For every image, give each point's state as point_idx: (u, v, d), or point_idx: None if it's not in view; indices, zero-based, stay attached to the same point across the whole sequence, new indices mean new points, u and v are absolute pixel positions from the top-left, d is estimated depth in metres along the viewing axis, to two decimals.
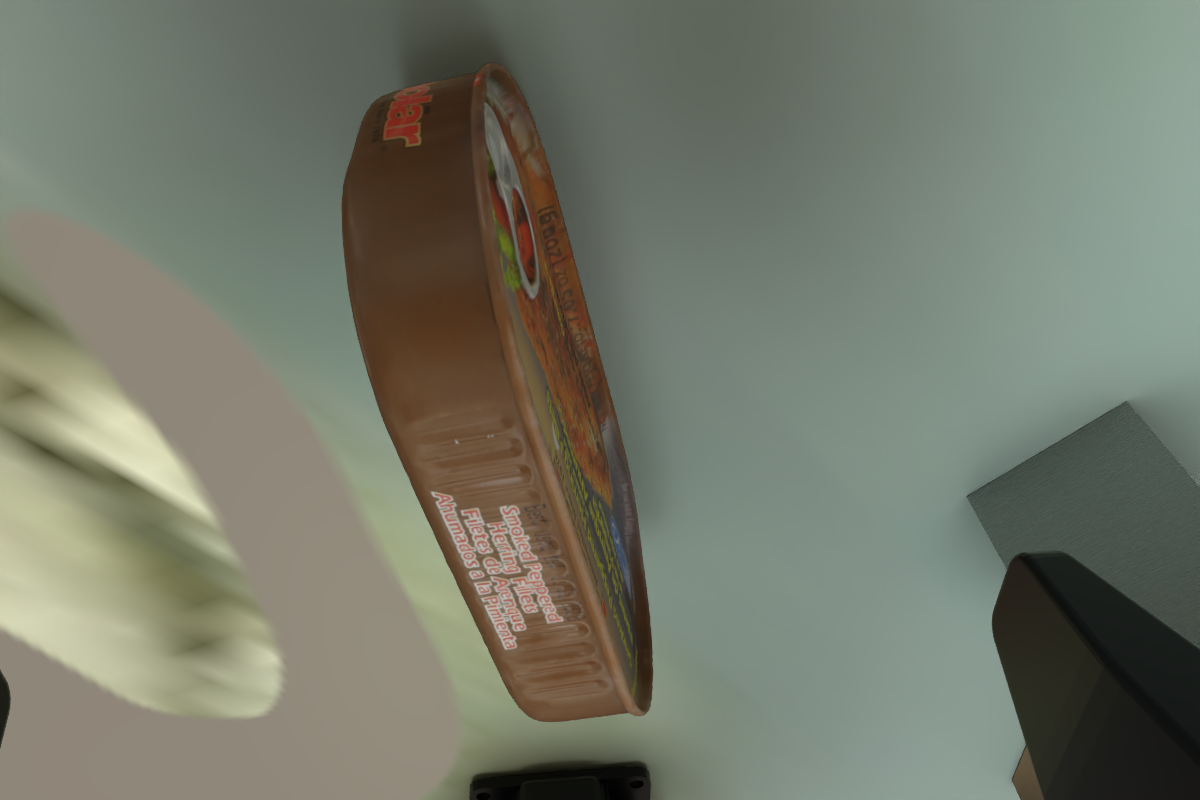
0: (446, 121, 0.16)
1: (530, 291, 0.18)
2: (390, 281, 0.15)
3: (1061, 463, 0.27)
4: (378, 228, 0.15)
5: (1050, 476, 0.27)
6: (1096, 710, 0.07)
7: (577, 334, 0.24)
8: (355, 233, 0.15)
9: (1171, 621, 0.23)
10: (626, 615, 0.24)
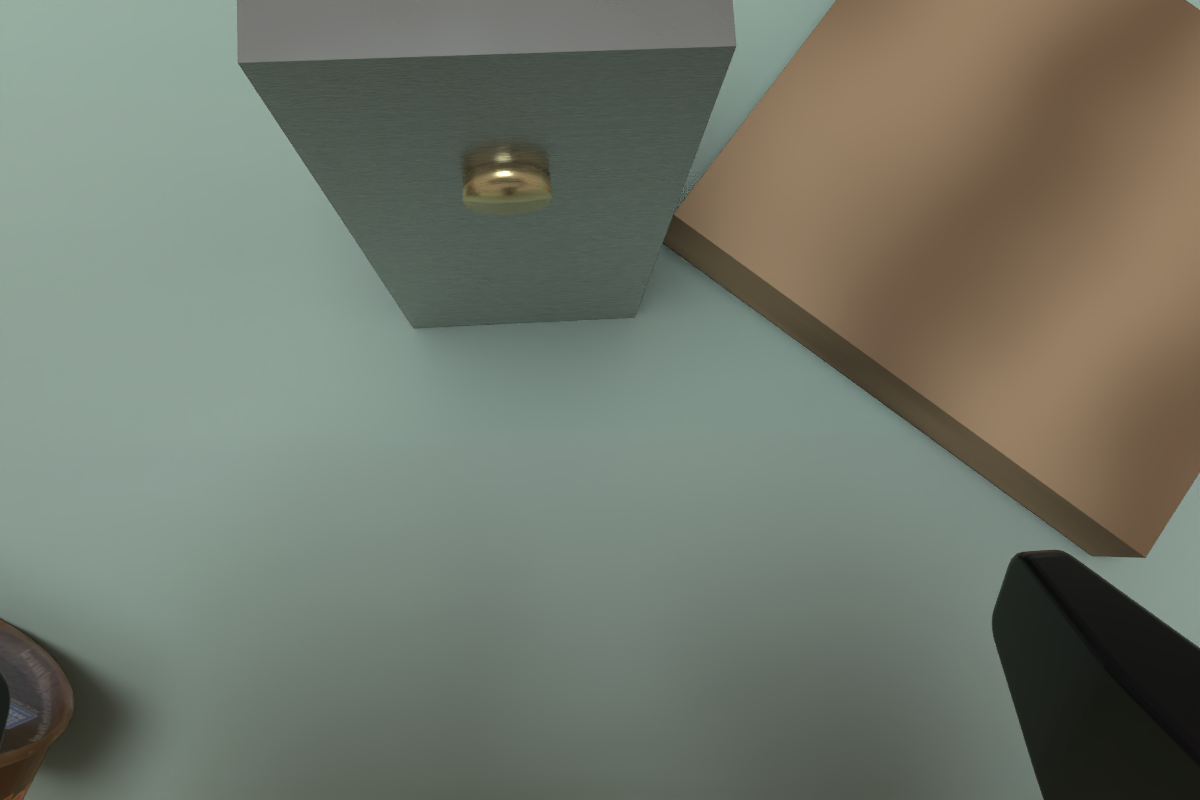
0: None
1: None
2: None
3: None
4: None
5: None
6: (1096, 710, 0.07)
7: None
8: None
9: None
10: None
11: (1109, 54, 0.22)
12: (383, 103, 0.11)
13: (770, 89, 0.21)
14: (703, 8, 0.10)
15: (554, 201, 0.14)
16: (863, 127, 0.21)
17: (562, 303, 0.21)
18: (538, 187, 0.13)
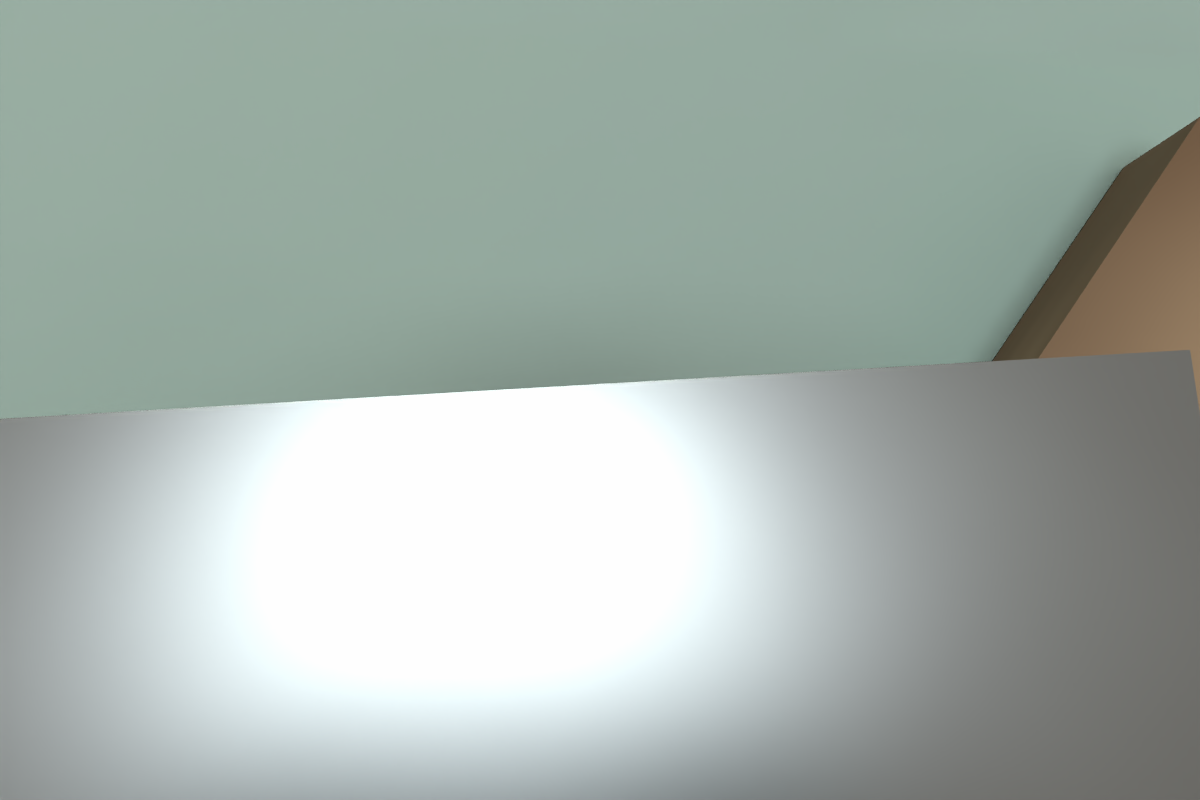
0: None
1: None
2: None
3: None
4: None
5: None
6: None
7: None
8: None
9: None
10: None
11: None
12: None
13: None
14: None
15: None
16: None
17: None
18: None
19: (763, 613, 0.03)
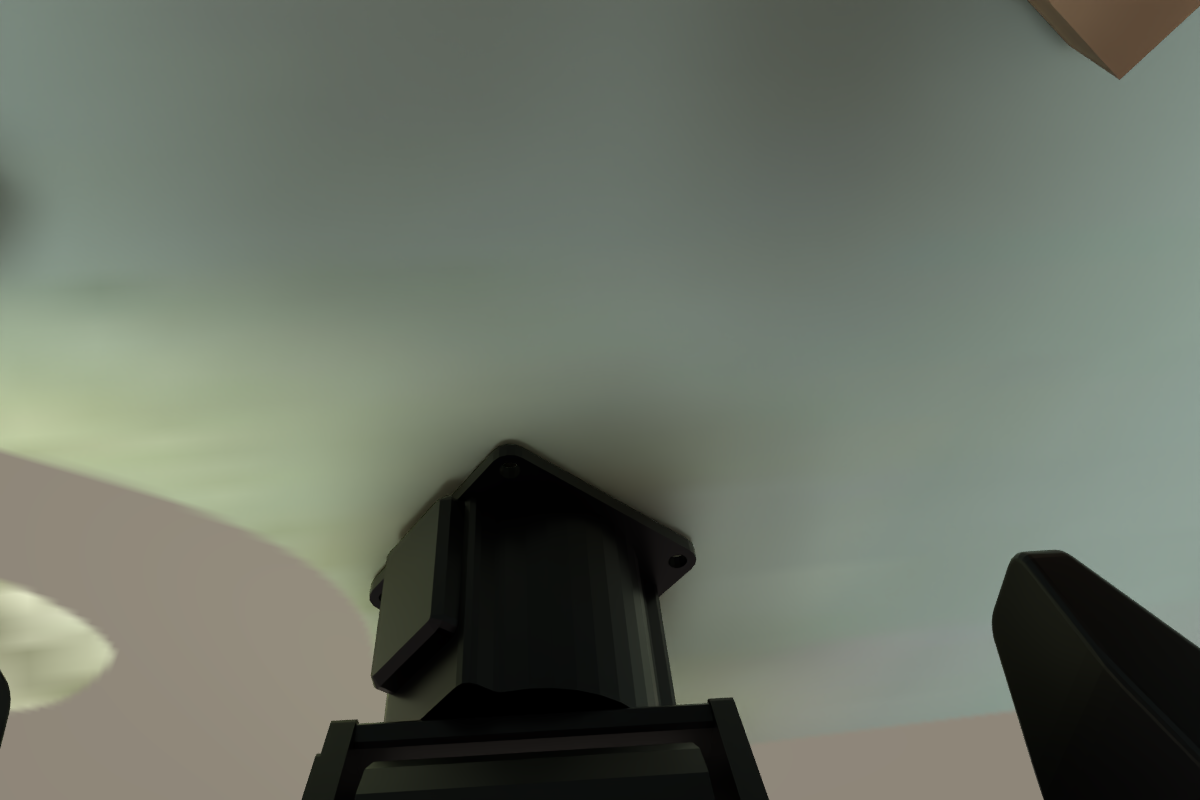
0: None
1: None
2: None
3: None
4: None
5: None
6: (1096, 710, 0.07)
7: None
8: None
9: None
10: None
11: None
12: None
13: None
14: None
15: None
16: None
17: None
18: None
19: None
